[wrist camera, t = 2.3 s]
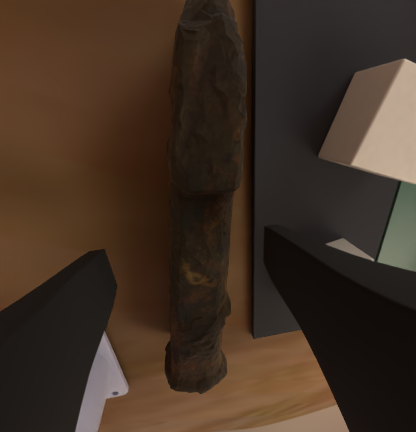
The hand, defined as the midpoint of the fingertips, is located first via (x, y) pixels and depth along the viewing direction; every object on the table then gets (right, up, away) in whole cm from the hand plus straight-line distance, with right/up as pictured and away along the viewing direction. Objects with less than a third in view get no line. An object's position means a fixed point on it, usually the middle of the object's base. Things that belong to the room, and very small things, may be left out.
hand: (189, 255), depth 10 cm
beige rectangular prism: (+9, +6, +1) cm, 11 cm away
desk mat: (+8, +2, +3) cm, 9 cm away
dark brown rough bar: (0, +1, +3) cm, 3 cm away
